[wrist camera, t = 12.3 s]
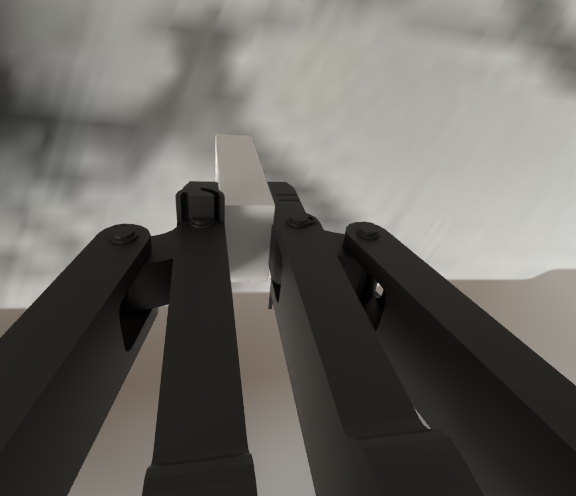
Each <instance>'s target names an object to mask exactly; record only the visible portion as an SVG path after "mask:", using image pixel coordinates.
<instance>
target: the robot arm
mask: <svg viewBox="0 0 576 496" xmlns="http://www.w3.org/2000/svg"><path fill="white" fill-rule="evenodd" d="M176 211H177V227H176V228H175V229H173V230H172V231H170V232H167V233H164V234H160V235H156V236H150V233H149V231H148V229H146V228H144V227H142V226H139V225H135V224H120V225H119V224H118V225H114V226H111V227H109V228H106V229H104V230H103V231H101V232H100V233H98V234H97V235H96V236H95V238H94V239H93V240H92V241H91V242H90V243H89V244H88V245H87V246H86V247H85V248H84V249H83V250H82V251H81V252H80V254H79V255H78V256H77V257H76V258H75V259H74V260H73V261H72V262H71V263H70V264H69V265H68V266H67V267H66V268H65V270H64V271H63V272H62V273H61V274H60V275H59V276H58V277H57V278H56V279H55V280H54V281H53V282H52V283H51V284H50V286H49V287H48V288H47V289H46V290H45V291H44V292H43V293H42V294H41V295H40V296H39V297H38V298H37V299H36V301H35V302H34V303H33V304H32V305H31V306H30V307H29V308H28V309H27V310H26V311H25V312H24V313H23V314H22V315H21V317H20V318H19V319H18V320H17V321H16V322H15V323H14V324H13V325H12V326H11V327H10V328H9V329H8V331H6V333H5V334H4V335H3V336H2V337H1V338H0V496H67V495H68V493H69V491H70V489H71V487H72V485H73V483H74V481H75V479H76V477H77V475H78V473H79V471H80V469H81V467H82V465H83V463H84V461H85V459H86V457H87V455H88V452H89V451H90V449H91V447H92V445H93V443H94V441H95V439H96V437H97V435H98V433H99V431H100V429H101V427H102V425H103V423H104V421H105V419H106V417H107V415H108V413H109V411H110V409H111V407H112V405H113V403H114V401H115V399H116V397H117V395H118V393H119V391H120V389H121V386H122V384H123V383H124V381H125V379H126V377H127V375H128V373H129V371H130V369H131V367H132V365H133V363H134V361H135V358H136V357H137V355H138V353H139V351H140V349H141V347H142V345H143V343H144V341H145V339H146V336H147V334H148V333H149V331H150V329H151V326H152V324H153V322H154V320H155V318H156V316H157V314H158V307H160V306H164V305H168V304H169V307H168V317H167V326H166V336H165V346H164V356H163V365H162V375H161V384H160V393H159V404H158V413H157V422H156V432H155V443H154V451H153V459H152V463H151V465H150V466H149V467H148V468H147V471H146V475H145V479H144V485H143V493H142V496H257V487H256V479H255V472H254V464H253V459H252V455H251V454H250V453H249V450H248V444H247V435H246V425H245V415H244V406H243V397H242V386H241V378H240V367H239V358H238V347H237V338H236V328H235V319H234V309H233V299H232V289H231V282H252V281H268V276H269V269H270V273H271V286H270V297H269V308H268V309H272V304H273V305H274V310H275V314H276V319H277V323H278V328H279V332H280V336H281V341H282V346H283V350H284V355H285V359H286V364H287V368H288V372H289V377H290V381H291V385H292V390H293V395H294V399H295V404H296V408H297V413H298V417H299V422H300V426H301V430H302V435H303V439H304V444H305V448H306V453H307V457H308V462H309V466H310V471H311V475H312V479H313V484H314V488H315V493H316V496H576V386H575V385H574V384H573V383H572V382H571V381H569V380H568V379H567V378H566V377H564V376H563V375H562V374H561V373H560V372H558V371H557V370H556V369H555V368H553V367H552V366H551V365H550V364H549V363H547V362H546V361H545V360H544V359H543V358H541V357H540V356H539V355H538V354H536V353H535V352H534V351H533V350H532V349H530V348H529V347H528V346H527V345H525V344H524V343H523V342H522V341H521V340H519V339H518V338H517V337H516V336H514V335H513V334H512V333H511V332H509V331H508V330H507V329H506V328H505V327H503V326H502V325H501V324H500V323H499V322H497V321H496V320H495V319H494V318H493V317H491V316H490V315H489V314H488V313H486V312H485V311H484V310H483V309H482V308H480V307H479V306H478V305H477V304H475V303H474V302H473V301H472V300H471V299H469V298H468V297H467V296H466V295H464V294H463V293H462V292H461V291H459V290H458V289H457V288H456V287H455V286H454V285H452V284H451V283H450V282H449V281H447V280H446V279H445V278H444V277H443V276H441V275H440V274H439V273H438V272H436V271H435V270H434V269H433V268H432V267H430V266H429V265H428V264H427V263H425V262H424V261H423V260H422V259H421V258H419V257H418V256H417V255H416V254H415V253H413V252H412V251H411V250H410V249H408V248H407V247H406V246H405V245H404V244H402V243H401V242H400V241H399V240H397V239H396V238H395V237H394V236H393V235H391V234H390V233H389V232H388V231H386V230H385V229H383V228H382V227H380V226H378V225H375V224H373V223H370V222H368V223H367V222H355V223H352V224H349V225H348V226H347V227H346V232H345V234H340V233H334V232H329V231H325V230H323V228H322V226H321V224H320V222H319V221H318V219H317V218H316V217H314V216H312V215H310V214H307V213H306V212H305V210H304V208H303V206H302V204H301V202H300V199H299V197H298V196H297V193H296V191H295V189H294V188H293V187H292V186H291V185H289V184H288V183H286V182H267V181H266V178H265V175H264V172H263V169H262V166H261V163H260V160H259V157H258V155H257V152H256V149H255V146H254V143H253V140H252V137H251V136H250V135H227V134H215V182H196V181H190V182H189V183H188V184H187V185H185V186H184V187H183V189H182V190H180V191H178V192H177V194H176ZM377 283H379V284H380V285H381V286H382V288H383V289H384V290H383V293H382V296H380V295H379V294H378V293H377V292H376V291H375V290H376V286H377ZM413 406H414V407H413ZM414 408H415V409H416V410H417V412H418V413H419V414H420V415H421V417H422V418H423V419H424V420H425V422H426V423H427V424H428V425H429V427H430V428H431V429H428V428H427V427H425V426H424V425H423V424H422V422H421V420H420V419H419V417H418V415H417V413H416V411H415V409H414Z"/></svg>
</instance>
